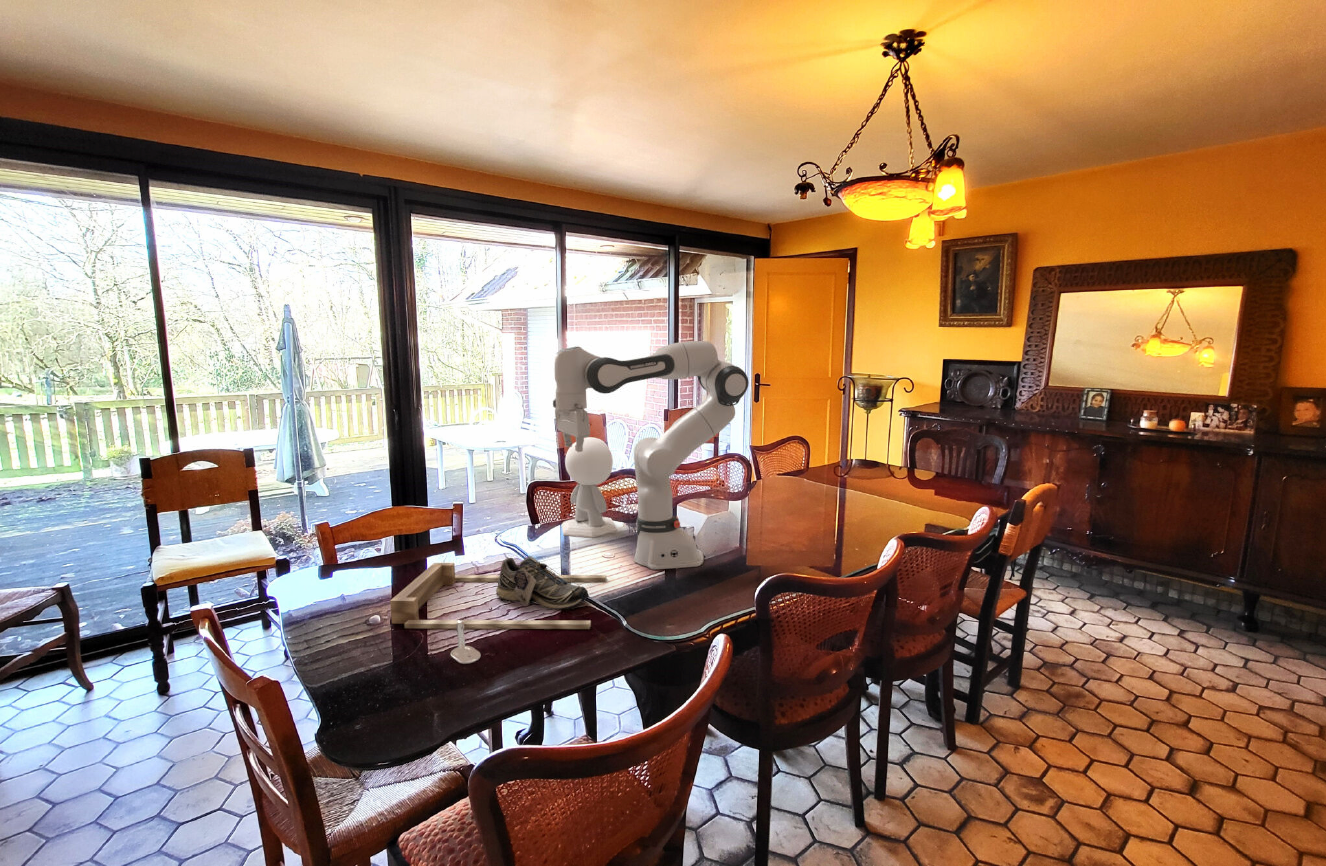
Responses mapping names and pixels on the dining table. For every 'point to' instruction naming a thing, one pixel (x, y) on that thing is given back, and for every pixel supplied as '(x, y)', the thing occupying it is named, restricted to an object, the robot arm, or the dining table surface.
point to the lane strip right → (569, 577)
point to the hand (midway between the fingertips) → (573, 449)
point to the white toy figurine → (589, 489)
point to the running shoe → (537, 585)
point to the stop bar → (421, 591)
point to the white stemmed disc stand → (464, 648)
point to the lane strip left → (500, 624)
